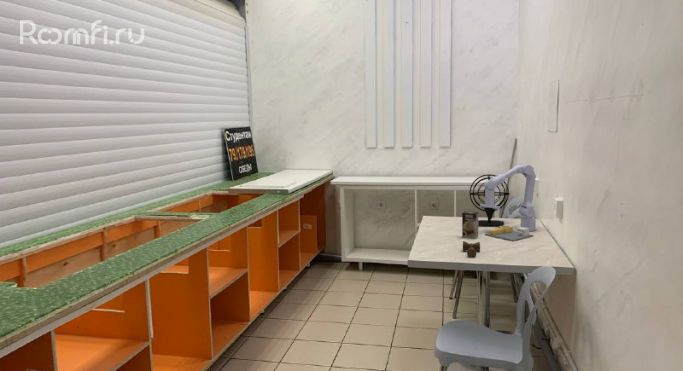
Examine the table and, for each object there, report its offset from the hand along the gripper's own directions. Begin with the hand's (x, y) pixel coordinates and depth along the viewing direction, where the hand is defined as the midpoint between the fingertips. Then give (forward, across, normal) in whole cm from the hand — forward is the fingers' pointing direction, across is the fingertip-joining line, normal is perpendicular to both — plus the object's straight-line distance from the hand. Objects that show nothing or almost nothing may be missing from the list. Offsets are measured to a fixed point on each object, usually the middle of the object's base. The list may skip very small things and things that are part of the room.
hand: (489, 219), depth 327 cm
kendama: (+10, +25, -45) cm, 52 cm away
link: (+8, +8, +1) cm, 11 cm away
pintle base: (+9, +14, +2) cm, 16 cm away
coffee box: (+9, 0, -18) cm, 20 cm away
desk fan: (+9, -17, +20) cm, 28 cm away
